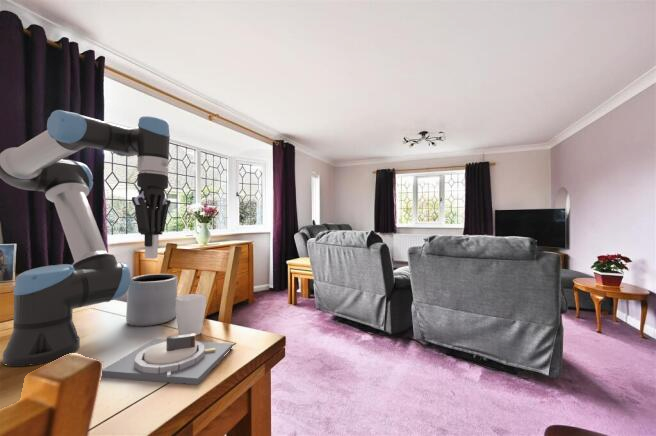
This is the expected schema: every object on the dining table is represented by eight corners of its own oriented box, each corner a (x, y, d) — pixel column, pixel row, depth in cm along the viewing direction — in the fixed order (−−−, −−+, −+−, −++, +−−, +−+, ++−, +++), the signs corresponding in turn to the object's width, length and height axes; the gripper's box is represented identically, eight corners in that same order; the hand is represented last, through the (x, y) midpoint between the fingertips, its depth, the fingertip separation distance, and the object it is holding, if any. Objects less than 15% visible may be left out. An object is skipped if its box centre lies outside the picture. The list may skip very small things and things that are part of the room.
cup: (168, 338, 93) (169, 299, 93) (186, 327, 102) (187, 292, 102) (194, 340, 92) (195, 301, 92) (210, 330, 101) (211, 294, 101)
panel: (98, 378, 70) (99, 365, 70) (155, 343, 89) (155, 333, 89) (196, 386, 67) (196, 373, 67) (232, 348, 87) (232, 338, 87)
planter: (186, 315, 115) (187, 275, 115) (153, 330, 100) (154, 283, 100) (151, 311, 119) (152, 272, 119) (114, 325, 103) (115, 280, 103)
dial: (141, 372, 69) (141, 350, 69) (147, 351, 80) (148, 332, 80) (197, 362, 75) (197, 342, 75) (196, 344, 85) (196, 326, 85)
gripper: (149, 170, 77) (147, 261, 77) (179, 177, 90) (177, 255, 90) (122, 170, 77) (120, 260, 77) (156, 177, 90) (154, 254, 90)
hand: (151, 257), depth 83 cm, fingers closed
